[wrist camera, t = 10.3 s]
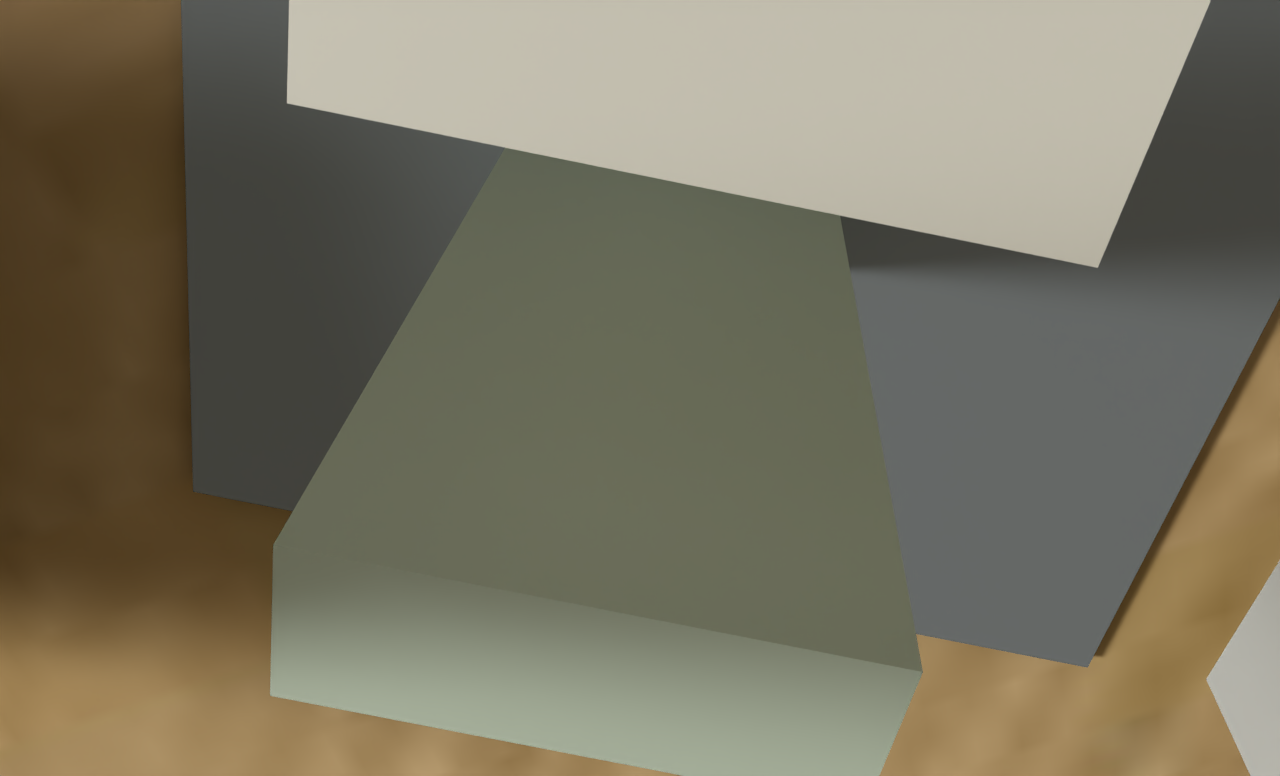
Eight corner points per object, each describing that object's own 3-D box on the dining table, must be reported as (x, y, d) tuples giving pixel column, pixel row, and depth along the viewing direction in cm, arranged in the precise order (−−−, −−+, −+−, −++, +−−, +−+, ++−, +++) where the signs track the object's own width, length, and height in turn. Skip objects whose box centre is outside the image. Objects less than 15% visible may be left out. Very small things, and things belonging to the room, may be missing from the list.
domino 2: (523, 115, 18) (273, 544, 9) (833, 178, 18) (923, 672, 9) (511, 209, 19) (270, 695, 9) (808, 268, 19) (864, 810, 10)
